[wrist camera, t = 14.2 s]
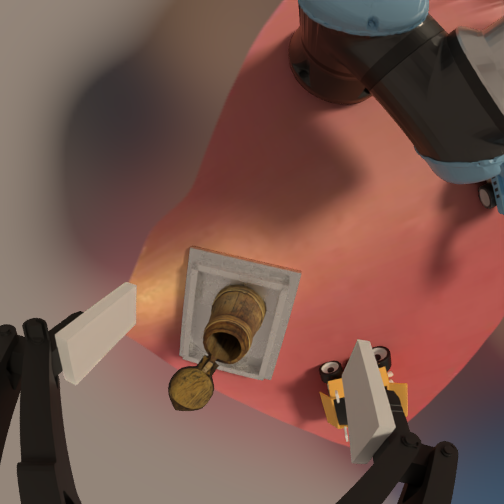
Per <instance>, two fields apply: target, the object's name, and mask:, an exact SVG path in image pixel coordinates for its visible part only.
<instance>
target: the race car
mask: <svg viewBox="0 0 504 504" xmlns="http://www.w3.org/2000/svg"><path fill="white" fill-rule="evenodd" d="M372 350H373V353H374V356H375V359H376V362H377V365H378V368H379V371H380V374H381V378H382V381H383V384H384V387H385V390H392V391H394V392H395V393H396V394H397V396H398V397H399V398H400V401H401V406H402V408H403V412H404V414H405V417H407V383H394V382H393V380H392V379H390V380H389V377H391V376H393V373H392V372H391V371H389V372H387V371H388V370H389V369H390V368H391V356H390V351H389V349H388V348H386V347H383V346H377V347H373V348H372ZM319 372H320V375H321V379H322V381H323V382H324V383H326V384H327V387H328V393H329V396H330V397H329V396H328V395H326V394H324V393H322V392H319V393H320V396H321V400H322V403H323V407H324V410H325V414H326V417H327V421H328V423H330V424H331V425H333V426H335V427H336V428H338V429H341V428H344V430H345V438H346V442H347V441H348V435H347V431H346V427H348V421H347V413H346V405H345V397H344V389H343V382H342V374H343V371H342V366H341V364H340V363H339V362H338V361H330V362H326V363H324V364H323V365H322V366H321V367H320V369H319Z"/></svg>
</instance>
